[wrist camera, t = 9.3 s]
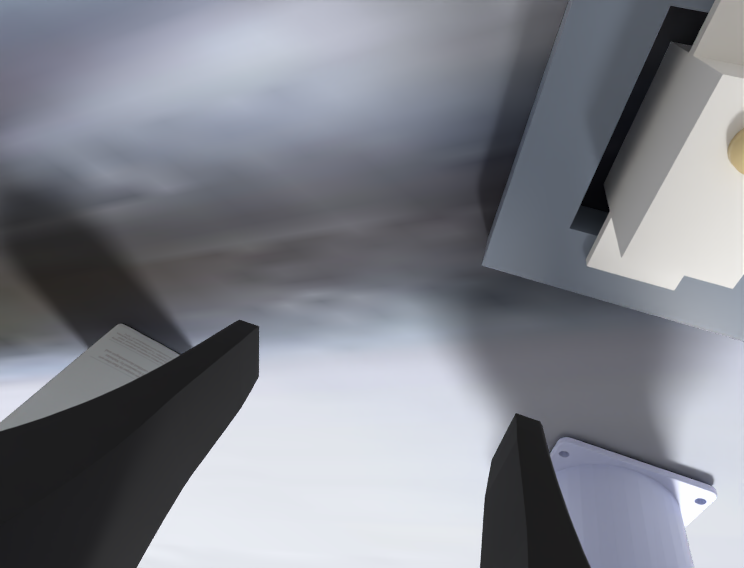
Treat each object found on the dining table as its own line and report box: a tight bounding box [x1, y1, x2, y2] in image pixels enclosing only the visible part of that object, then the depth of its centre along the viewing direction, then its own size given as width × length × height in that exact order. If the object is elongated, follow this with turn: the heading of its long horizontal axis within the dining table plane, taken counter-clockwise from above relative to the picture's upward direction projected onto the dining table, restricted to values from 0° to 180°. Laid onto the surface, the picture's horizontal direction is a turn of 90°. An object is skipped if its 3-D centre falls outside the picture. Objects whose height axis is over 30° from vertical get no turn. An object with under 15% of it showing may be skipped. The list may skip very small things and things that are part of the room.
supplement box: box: [0, 324, 180, 431], centre depth 29 cm, size 7×7×13 cm
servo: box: [586, 0, 744, 290], centre depth 14 cm, size 9×3×6 cm, turn 172°
